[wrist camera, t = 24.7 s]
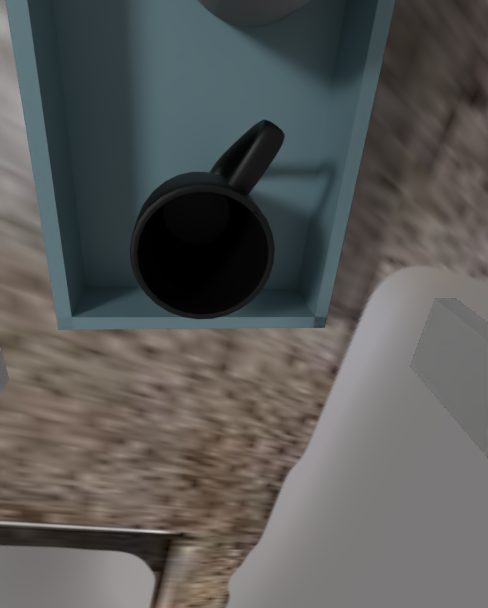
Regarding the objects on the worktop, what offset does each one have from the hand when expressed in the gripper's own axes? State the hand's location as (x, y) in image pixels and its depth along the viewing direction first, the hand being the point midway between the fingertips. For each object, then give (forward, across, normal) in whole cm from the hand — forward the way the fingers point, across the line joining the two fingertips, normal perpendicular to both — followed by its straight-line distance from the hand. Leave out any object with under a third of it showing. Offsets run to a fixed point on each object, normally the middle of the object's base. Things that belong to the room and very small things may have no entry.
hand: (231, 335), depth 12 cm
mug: (+20, +1, 0) cm, 20 cm away
